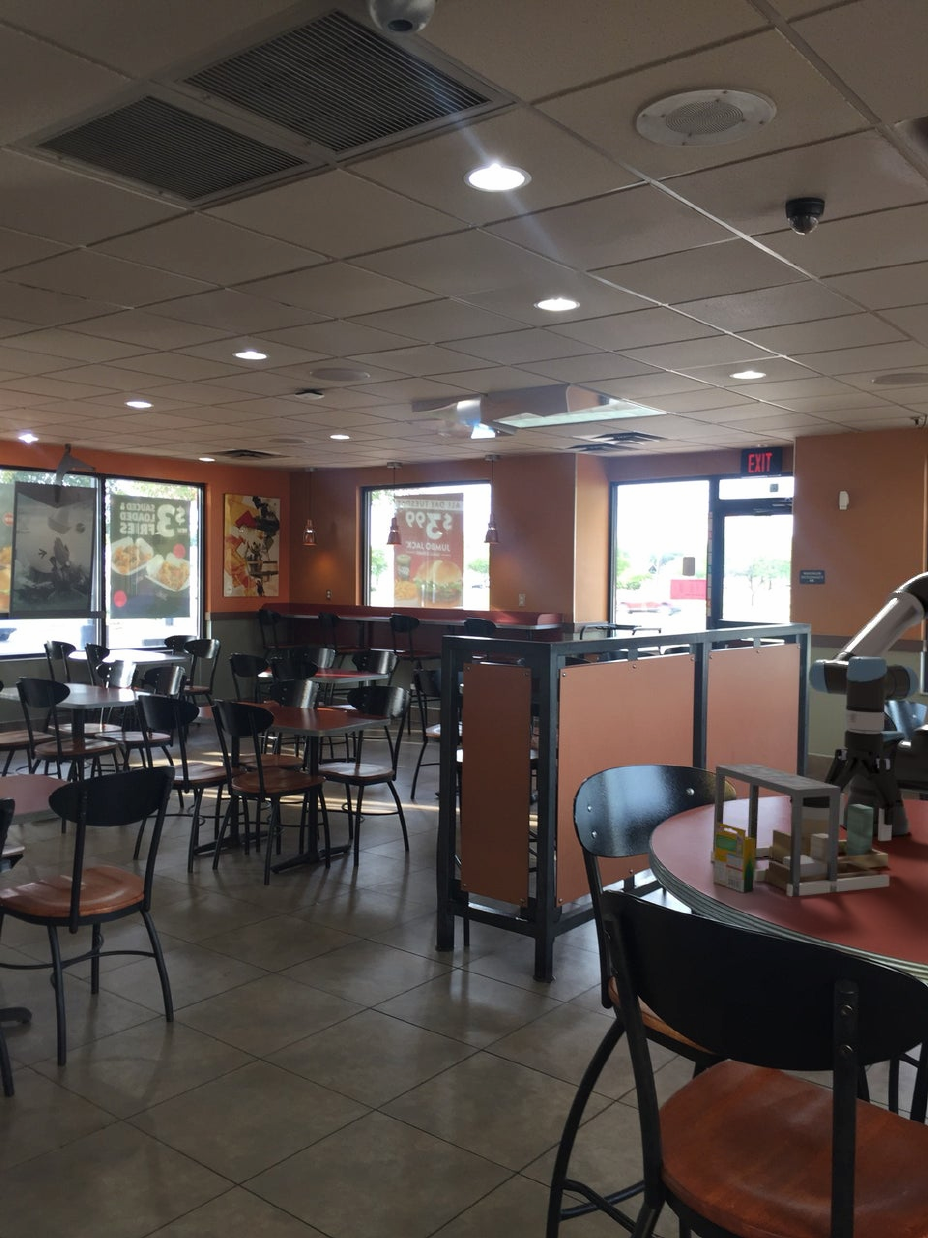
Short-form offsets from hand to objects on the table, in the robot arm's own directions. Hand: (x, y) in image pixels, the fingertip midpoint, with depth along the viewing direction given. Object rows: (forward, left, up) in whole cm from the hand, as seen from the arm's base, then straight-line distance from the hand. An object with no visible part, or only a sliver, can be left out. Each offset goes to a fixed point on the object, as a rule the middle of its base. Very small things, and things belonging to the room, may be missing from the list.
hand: (859, 832), depth 205 cm
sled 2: (+20, +12, -6) cm, 24 cm away
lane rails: (+20, +5, -6) cm, 21 cm away
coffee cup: (+13, 0, -6) cm, 14 cm away
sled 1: (+8, 0, -6) cm, 10 cm away
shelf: (+26, +5, -6) cm, 27 cm away
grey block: (+24, +12, -6) cm, 28 cm away
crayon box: (+38, +9, -6) cm, 39 cm away
